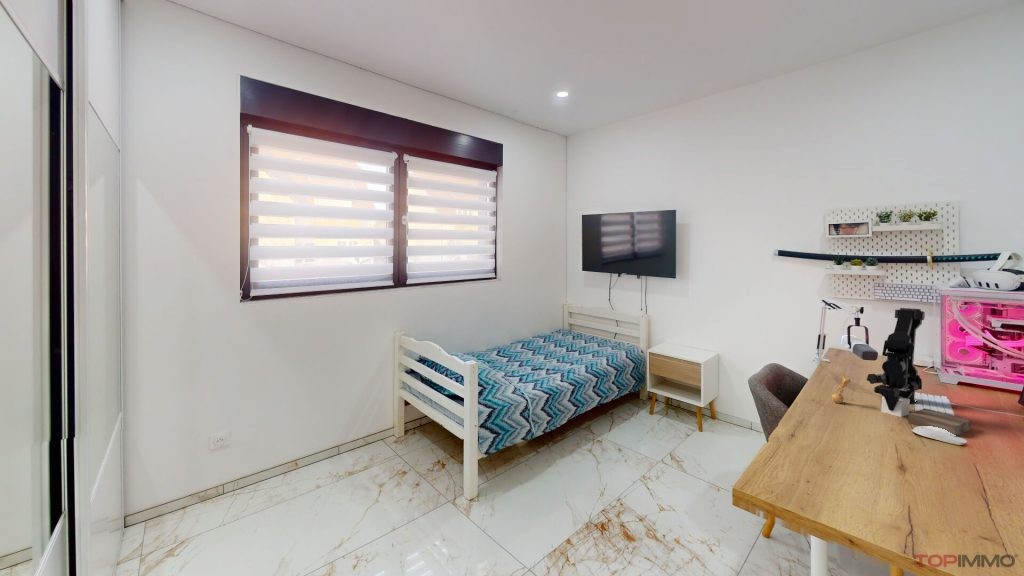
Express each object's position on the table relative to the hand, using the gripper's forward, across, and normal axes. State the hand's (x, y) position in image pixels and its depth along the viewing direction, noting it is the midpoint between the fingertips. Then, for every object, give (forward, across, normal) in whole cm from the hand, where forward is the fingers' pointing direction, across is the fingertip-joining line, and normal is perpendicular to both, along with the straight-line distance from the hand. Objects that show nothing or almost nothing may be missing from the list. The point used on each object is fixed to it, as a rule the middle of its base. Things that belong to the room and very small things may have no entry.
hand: (895, 409), depth 154 cm
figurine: (+2, +7, -15) cm, 17 cm away
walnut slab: (+2, +2, +13) cm, 13 cm away
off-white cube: (+2, 0, 0) cm, 2 cm away
